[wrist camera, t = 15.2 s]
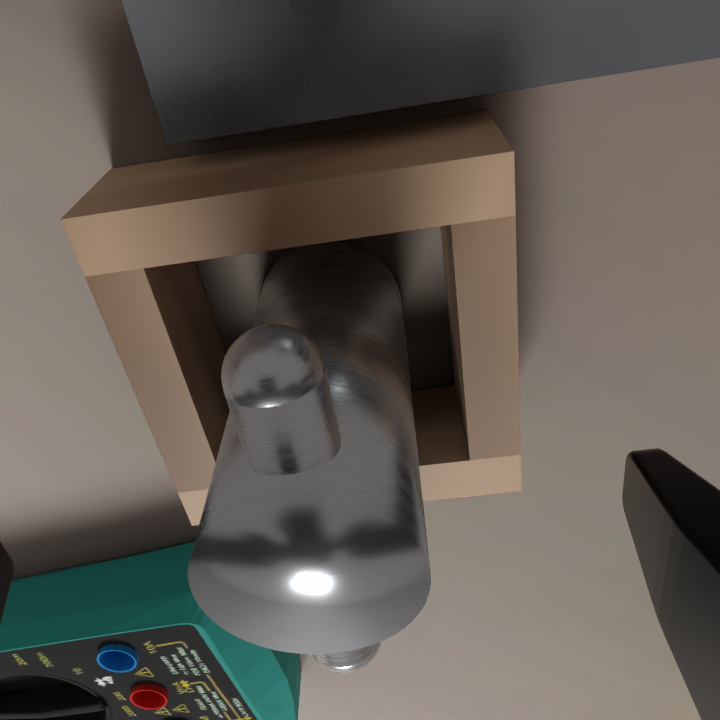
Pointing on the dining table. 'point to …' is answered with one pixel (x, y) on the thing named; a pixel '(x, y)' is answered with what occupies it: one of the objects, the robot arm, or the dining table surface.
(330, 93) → the chuck base
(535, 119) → the dining table surface
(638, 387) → the dining table surface
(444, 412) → the key socket
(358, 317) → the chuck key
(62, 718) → the digital multimeter
